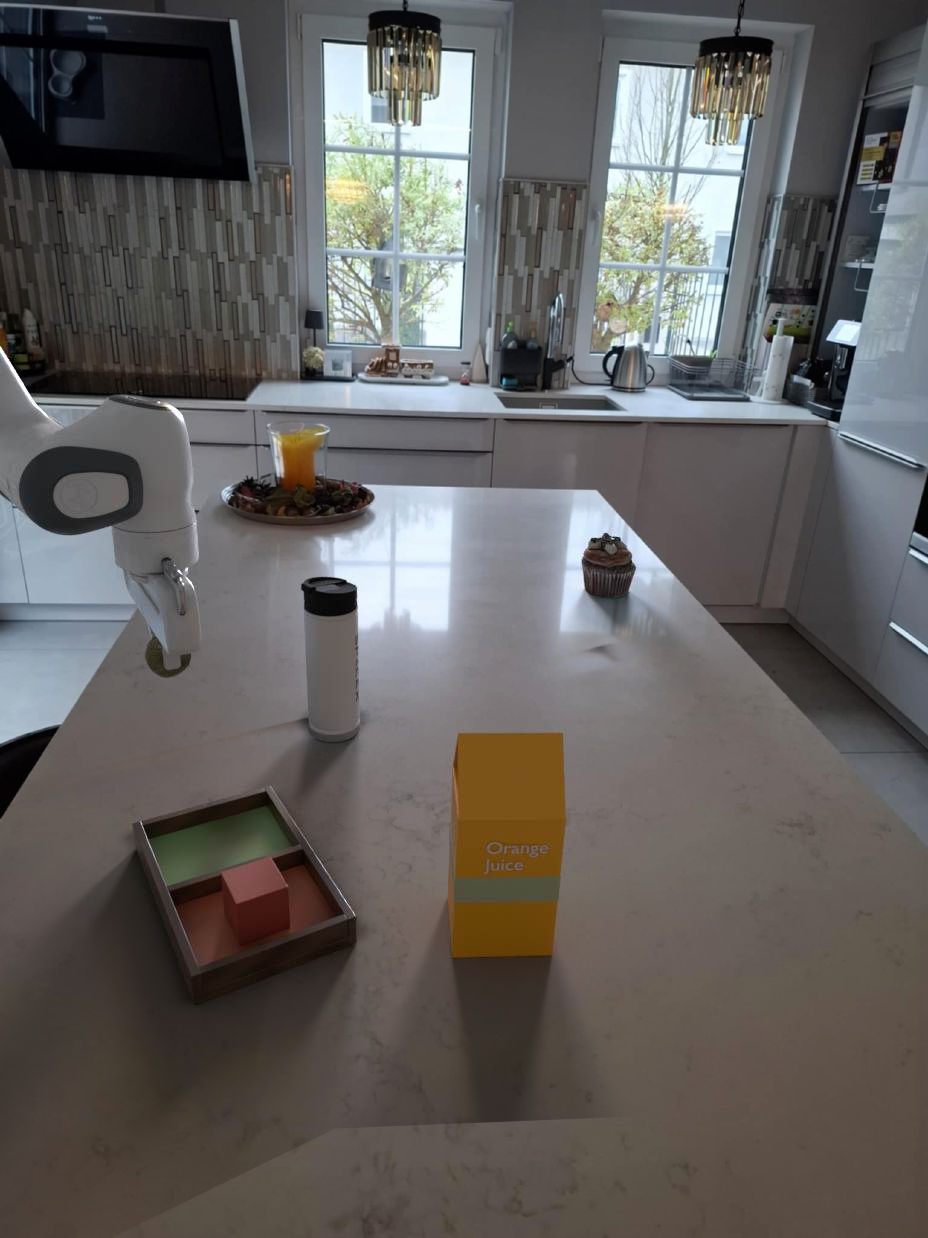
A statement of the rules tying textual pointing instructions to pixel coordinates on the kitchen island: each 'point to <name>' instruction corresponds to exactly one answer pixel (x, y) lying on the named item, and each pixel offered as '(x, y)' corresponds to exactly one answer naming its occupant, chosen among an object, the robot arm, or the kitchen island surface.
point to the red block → (255, 900)
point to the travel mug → (331, 658)
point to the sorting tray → (193, 901)
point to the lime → (155, 660)
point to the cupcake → (607, 567)
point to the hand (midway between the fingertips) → (166, 658)
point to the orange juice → (505, 843)
